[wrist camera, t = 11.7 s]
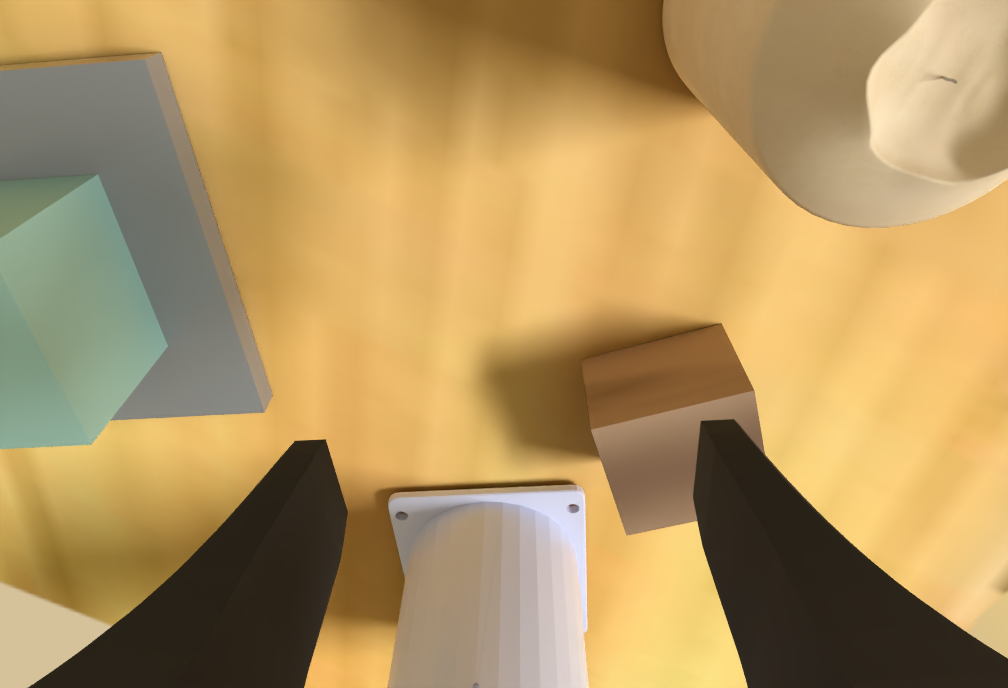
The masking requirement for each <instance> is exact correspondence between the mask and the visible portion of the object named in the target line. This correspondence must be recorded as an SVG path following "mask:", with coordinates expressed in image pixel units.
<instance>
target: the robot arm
mask: <svg viewBox="0 0 1008 688" xmlns="http://www.w3.org/2000/svg"><path fill="white" fill-rule="evenodd" d="M693 501H694V506H695V511H696V516H697V521H698V526H699V531H700V536H701V540H702V545H703V549H704V552H705V555H706V558H707V561H708V564H709V567H710V570H711V573H712V576H713V580H714V583H715V586H716V589H717V592H718V595H719V598H720V601H721V604H722V606H723V609H724V612H725V615H726V618H727V621H728V624H729V627H730V630H731V633H732V636H733V639H734V642H735V645H736V648H737V651H738V654H739V657H740V661H741V664H742V668H743V671H744V675H745V678H746V682H747V686H748V688H1008V658H1006V657H1004V656H1003V655H1001V654H1000V653H998V652H996V651H995V650H993V649H992V648H990V647H988V646H987V645H985V644H983V643H982V642H980V641H979V640H977V639H976V638H974V637H973V636H971V635H970V634H968V633H967V632H965V631H964V630H962V629H961V628H960V627H958V626H957V625H955V624H954V623H953V622H951V621H950V620H948V619H947V618H945V617H944V616H943V615H941V614H940V613H938V612H937V611H936V610H934V609H933V608H931V607H930V606H928V605H927V604H926V603H924V602H923V601H921V600H920V599H919V598H917V597H916V596H915V595H913V594H912V593H911V592H909V591H908V590H907V589H905V588H904V587H903V586H901V585H900V584H899V583H898V582H896V581H895V580H894V579H893V578H891V577H890V576H889V575H888V574H887V573H885V572H884V571H883V570H882V569H880V568H879V567H878V566H877V565H876V564H874V563H873V562H872V561H871V560H870V559H868V558H867V557H866V556H865V555H864V554H863V553H862V552H860V551H859V550H858V549H857V548H856V547H855V546H854V545H853V544H852V543H850V542H849V541H848V540H847V539H846V538H845V537H844V536H843V535H842V534H841V533H840V532H839V531H838V530H836V529H835V528H834V527H833V526H832V525H831V524H830V523H829V522H828V521H827V520H826V519H825V518H824V517H823V516H822V515H821V514H820V513H819V512H818V511H817V510H816V509H815V508H814V507H813V506H812V505H811V504H810V503H809V502H808V501H807V500H806V499H805V498H804V497H803V496H802V495H801V494H800V493H799V492H798V491H797V489H796V488H795V487H794V486H793V485H792V484H791V483H790V482H789V481H788V480H787V479H786V478H785V477H784V476H783V474H782V473H781V472H780V471H779V470H778V469H777V468H776V467H775V466H774V464H773V463H772V462H771V461H770V460H769V459H768V458H767V456H766V455H765V454H764V453H763V452H762V451H761V450H760V448H759V447H758V446H757V445H756V444H755V442H754V441H753V440H752V439H751V438H750V436H749V435H748V434H747V433H746V432H745V430H744V429H743V428H742V427H741V426H740V424H739V423H738V422H736V421H735V420H734V419H726V420H706V421H701V423H700V433H699V442H698V452H697V461H696V471H695V481H694V490H693ZM571 504H576V505H575V506H569V505H571ZM388 510H389V514H390V518H391V522H392V526H393V531H394V535H395V539H396V543H397V547H398V552H399V556H400V560H401V564H402V568H403V573H404V577H405V584H404V590H403V596H402V602H401V608H400V614H399V620H398V626H397V632H396V638H395V645H394V651H393V657H392V663H391V669H390V675H389V681H388V687H387V688H589V686H588V675H587V664H586V653H585V642H584V633H585V632H586V631H587V580H586V522H585V493H584V490H583V489H582V488H581V487H580V486H578V485H551V486H529V487H506V488H484V489H461V490H439V491H416V492H398V493H394V494H392V495H391V496H390V498H389V501H388ZM400 511H402V512H405V513H400ZM347 513H348V511H347V508H346V505H345V502H344V498H343V495H342V492H341V488H340V485H339V482H338V479H337V475H336V472H335V469H334V465H333V462H332V459H331V456H330V452H329V449H328V446H327V442H326V439H325V440H305V441H295V442H294V443H293V444H292V445H291V446H290V447H289V448H288V450H287V451H286V452H285V453H284V454H283V455H282V456H281V458H280V459H279V460H278V461H277V462H276V463H275V465H274V466H273V467H272V468H271V469H270V471H269V472H268V473H267V474H266V475H265V476H264V478H263V479H262V480H261V481H260V482H259V483H258V485H257V486H256V487H255V488H254V489H253V490H252V492H251V493H250V494H249V495H248V496H247V497H246V498H245V500H244V501H243V502H242V503H241V504H240V505H239V506H238V507H237V509H236V510H235V511H234V512H233V513H232V514H231V515H230V516H229V517H228V519H227V520H226V521H225V522H224V523H223V524H222V525H221V526H220V527H219V529H218V530H217V531H216V532H215V533H214V534H213V535H212V536H211V537H210V538H209V539H208V540H207V541H206V542H205V543H204V544H203V545H202V546H201V547H200V548H199V549H198V550H197V551H196V552H195V553H194V554H193V555H192V556H191V557H190V558H189V559H188V561H187V562H185V563H184V564H183V565H182V566H181V567H180V568H179V569H178V570H177V571H176V572H175V573H174V574H173V575H172V576H171V577H170V578H169V579H168V580H166V581H165V582H164V583H163V584H162V585H161V586H160V587H159V588H158V589H156V590H155V591H154V592H153V593H152V594H151V595H150V596H148V597H147V598H146V599H145V600H144V601H143V602H142V603H140V604H139V605H138V606H137V607H136V608H135V609H133V610H132V611H131V612H130V613H128V614H127V615H126V616H125V617H123V618H122V619H121V620H120V621H118V622H117V623H116V624H114V625H113V626H112V627H111V628H110V629H108V630H107V631H106V632H104V633H103V634H102V635H100V636H99V637H98V638H97V639H95V640H94V641H93V642H92V643H90V644H89V645H88V646H87V647H85V648H84V649H83V650H81V651H80V652H79V653H77V654H76V655H74V656H73V657H72V658H70V659H69V660H67V661H66V662H65V663H63V664H62V665H60V666H59V667H58V668H56V669H55V670H54V671H52V672H51V673H49V674H48V675H46V676H45V677H43V678H42V679H40V680H39V681H37V682H36V683H34V684H33V685H31V686H30V687H28V688H304V686H305V682H306V678H307V674H308V670H309V666H310V663H311V659H312V656H313V653H314V649H315V646H316V642H317V639H318V636H319V632H320V629H321V625H322V622H323V619H324V615H325V612H326V609H327V605H328V602H329V598H330V595H331V591H332V588H333V584H334V581H335V577H336V574H337V570H338V567H339V563H340V558H341V553H342V547H343V541H344V534H345V527H346V520H347Z"/></svg>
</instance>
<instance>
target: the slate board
mask: <svg viewBox="0 0 1008 688" xmlns="http://www.w3.org/2000/svg"><path fill="white" fill-rule="evenodd" d="M96 174H98V176H99V178H100V180H101V183H102V185H103V188H104V190H105V193H106V195H107V198H108V200H109V203H110V205H111V207H112V210H113V212H114V215H115V217H116V220H117V222H118V225H119V227H120V230H121V232H122V234H123V237H124V239H125V242H126V244H127V247H128V249H129V252H130V254H131V257H132V259H133V261H134V264H135V266H136V269H137V271H138V274H139V276H140V279H141V281H142V283H143V286H144V288H145V291H146V293H147V296H148V298H149V301H150V303H151V306H152V308H153V310H154V313H155V315H156V318H157V320H158V323H159V325H160V328H161V330H162V333H163V335H164V337H165V340H166V342H167V345H168V347H167V348H166V350H165V351H164V352H163V353H162V355H161V356H160V357H159V359H158V360H157V361H156V362H155V364H154V365H153V366H152V367H151V369H150V370H149V371H148V373H147V374H146V375H145V376H144V378H143V379H142V380H141V382H140V383H139V384H138V385H137V387H136V388H135V389H134V391H133V392H132V393H131V394H130V396H129V397H128V398H127V399H126V401H125V402H124V403H123V405H122V406H121V407H120V408H119V410H118V411H117V412H116V414H115V415H114V416H113V417H112V419H111V420H127V419H146V418H166V417H185V416H205V415H224V414H243V413H263V412H265V410H266V408H267V406H268V404H269V402H270V400H271V398H272V396H273V395H272V392H271V389H270V385H269V382H268V379H267V376H266V373H265V370H264V367H263V364H262V361H261V358H260V355H259V352H258V349H257V346H256V342H255V339H254V336H253V333H252V330H251V327H250V324H249V321H248V318H247V315H246V312H245V309H244V306H243V303H242V299H241V296H240V293H239V290H238V287H237V284H236V281H235V278H234V275H233V272H232V269H231V266H230V263H229V259H228V256H227V253H226V250H225V247H224V244H223V241H222V238H221V235H220V232H219V229H218V226H217V223H216V220H215V216H214V213H213V210H212V207H211V204H210V201H209V198H208V195H207V192H206V189H205V186H204V183H203V180H202V177H201V173H200V170H199V167H198V164H197V161H196V158H195V155H194V152H193V149H192V146H191V143H190V140H189V137H188V133H187V130H186V127H185V124H184V121H183V118H182V115H181V112H180V109H179V106H178V103H177V100H176V97H175V94H174V90H173V87H172V84H171V81H170V78H169V75H168V72H167V69H166V66H165V63H164V60H163V57H162V54H161V52H158V53H146V54H133V55H121V56H109V57H96V58H84V59H72V60H60V61H47V62H35V63H23V64H11V65H0V181H11V180H25V179H39V178H53V177H67V176H81V175H96Z"/></svg>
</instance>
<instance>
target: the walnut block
mask: <svg viewBox="0 0 1008 688" xmlns="http://www.w3.org/2000/svg"><path fill="white" fill-rule="evenodd" d="M581 365H582V372H583V379H584V386H585V393H586V400H587V407H588V414H589V421H590V428H591V432H592V435H593V438H594V441H595V444H596V447H597V450H598V453H599V456H600V458H601V461H602V464H603V467H604V470H605V473H606V476H607V479H608V482H609V485H610V488H611V491H612V494H613V497H614V500H615V503H616V506H617V509H618V512H619V515H620V517H621V520H622V523H623V526H624V529H625V532H626V535H632V534H637V533H641V532H646V531H651V530H656V529H660V528H665V527H670V526H675V525H679V524H684V523H689V522H694V521H697V516H696V511H695V506H694V501H693V490H694V481H695V471H696V461H697V452H698V442H699V433H700V423H701V421H706V420H726V419H734V420H735V421H736V422H738V423H739V424H740V426H741V427H742V428H743V429H744V430H745V432H746V433H747V434H748V435H749V436H750V438H751V439H752V440H753V441H754V442H755V444H756V445H757V446H758V447H759V448H760V450H761V451H762V452H763V453H764V454H765V452H764V446H763V440H762V434H761V428H760V422H759V416H758V410H757V404H756V398H755V392H754V389H753V387H752V385H751V383H750V381H749V379H748V377H747V375H746V373H745V371H744V369H743V367H742V365H741V362H740V360H739V358H738V356H737V354H736V352H735V350H734V348H733V346H732V344H731V342H730V340H729V338H728V336H727V334H726V332H725V330H724V328H723V326H722V324H718V325H714V326H710V327H706V328H702V329H698V330H694V331H691V332H687V333H683V334H679V335H675V336H671V337H667V338H664V339H660V340H656V341H652V342H648V343H644V344H640V345H637V346H633V347H629V348H625V349H621V350H617V351H613V352H610V353H606V354H602V355H598V356H594V357H590V358H586V359H583V360H581Z"/></svg>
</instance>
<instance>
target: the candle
mask: <svg viewBox="0 0 1008 688" xmlns="http://www.w3.org/2000/svg"><path fill="white" fill-rule="evenodd" d="M662 21H663V34H664V40H665V45H666V49H667V52H668V56H669V58H670V60H671V62H672V65H673V67H674V69H675V70H676V72H677V74H678V75H679V77H680V78H681V80H682V81H683V82H684V84H685V85H686V86H687V87H688V88H689V90H690V91H691V92H692V93H693V94H694V95H695V97H696V98H697V99H698V100H699V101H700V102H701V103H702V104H703V105H704V107H705V108H706V109H707V110H708V111H709V112H710V113H711V114H712V115H713V116H714V118H715V119H716V120H717V121H718V122H719V123H720V124H721V125H722V126H723V127H724V129H725V130H726V131H727V132H728V133H729V134H730V135H731V136H732V137H733V139H734V140H735V141H736V142H737V143H738V144H739V145H740V146H741V147H742V148H743V150H744V151H745V152H746V153H747V154H748V155H749V156H750V157H751V158H752V159H753V161H754V162H755V163H756V164H757V165H758V166H759V167H760V168H761V169H762V171H763V172H764V173H765V174H766V175H767V176H768V177H769V178H770V179H771V180H772V182H773V183H774V184H775V185H776V186H777V187H778V188H779V189H780V190H781V191H782V192H783V193H784V194H785V195H786V196H787V197H788V198H789V199H791V200H792V201H793V202H794V203H795V204H796V205H798V206H800V207H801V208H803V209H804V210H806V211H808V212H809V213H811V214H813V215H815V216H818V217H820V218H823V219H825V220H827V221H830V222H834V223H838V224H842V225H846V226H854V227H862V228H888V227H896V226H904V225H909V224H913V223H918V222H922V221H926V220H929V219H932V218H935V217H938V216H941V215H944V214H947V213H949V212H951V211H954V210H956V209H958V208H960V207H962V206H964V205H967V204H969V203H971V202H972V201H974V200H976V199H978V198H979V197H981V196H983V195H985V194H986V193H988V192H990V191H991V190H993V189H994V188H996V187H997V186H998V185H1000V184H1001V183H1003V182H1004V181H1006V180H1007V179H1008V0H663V10H662Z"/></svg>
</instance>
